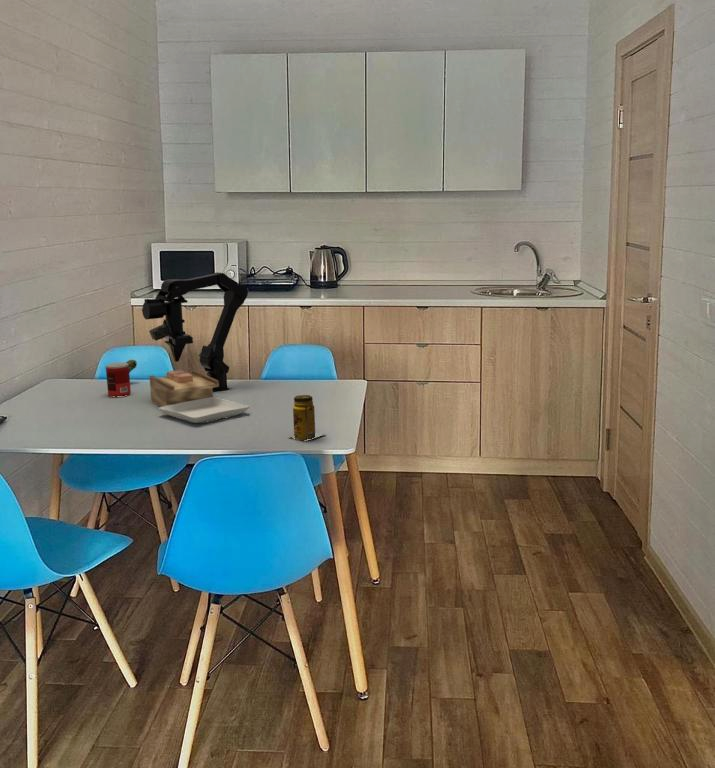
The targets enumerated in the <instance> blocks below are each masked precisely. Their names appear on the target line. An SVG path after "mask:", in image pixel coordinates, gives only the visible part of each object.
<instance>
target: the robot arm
mask: <svg viewBox="0 0 715 768" xmlns="http://www.w3.org/2000/svg"><path fill="white" fill-rule="evenodd" d="M214 286H217V287H218V288H219V289H220V290H221V291H222V292H223V293H224V294H223V309H222V311H221V312H220V313H221V314H220V315H219V319H218V321H217V324H216V327H215V329H214V332H213V335H212V338H211V341H210V342H209V344H208V345H203V346H202V347H201V352H200V353H199V355H198V357H199V361H198V362H199V363H200V366H201V367H203V369H204V371H205V372H206V375H207V376H209V377H211V378H214V379H216V380H218V381H219V387H214V388H212V390H213V392H217V391H218V392H219V391H225V390H229V389H230V387H228V380H227V379H228V377H227V375H228V374H229V370H230V366H229V365H227V364H226V363H225V362H224V359H225V358H224V357H225V352H224V351H225V350H224V346H225V344H226V341H227V338H228V336H229V333H230V330H231V327H232V325H233V322H234V320H235V316H236V314H237V311H238V310H239V309H240V308H241V307H242V306H243V304H244V302H245V301H246V299H247V298H248V294H249V290H248V288H247V287H246V285H244V284H241V283H239V282H238V281H236V280H234V279H232V278H231V277H229V276H228V275H227V274H226V273H223V272H214V273H210V274H206V275H202V276H197V277H196V276H195V277H192V278H187V279H177V278H175V279H173V278H171V279H168V278H167V279H164V280H163V282H162V283H161V286H160V290H159V291H158V293H157V295H156V297H155V298H152V299H151V298H144V299H143V300H144V303H143V304H142V308H141V312H142V316H143V318H144V319H145V320H156V319H163V318H164V316H165V319H163V320H162V324H161V325H158V326H156V327H154V328H151V329H150V330H149V331H148V332H149V334H150V337H151V339H152V340H154V341H159V340H163V339H165V338H166V339H165V340H164V343H165V344H166V345H167V346H169V349H170V351H171V354H172V357H173V360H174V362H176V363H178V362H179V361H180V359H181V356H182V353H183V351H184V349H185V347H186V345H190V344H193V343H194V339H193V337H192V336H191V334H187V333H186V330H185V331H184V324H185V323H186V322H185V321H186V320H185V319H184V318H183V306H182V305H183V304H187V303H188V300H187V299H186V298H185V297H184V295H187V294H188V293H189V292H192V291H195V290H199V289H204V288H209V287H214Z"/></svg>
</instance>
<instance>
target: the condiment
mask: <svg viewBox="0 0 715 768" xmlns="http://www.w3.org/2000/svg"><path fill="white" fill-rule="evenodd" d="M293 401H294V402H293V407H292V414H293V436H295V437H294V438H295V439H298V440H297V441H299V440H307V439H312V438H314V437H315V433H316V420H315V419H316V418H315V417H316V416H315V414H316V413H315V412H316V410H315V406H314V399H313V396H312V395H309V394H301V395H300V394H298V395H295V396H294V397H293ZM324 436H325V434H323V436H322V437H324ZM295 439H294V440H295ZM304 442H306V441H304ZM306 443H307V442H306Z"/></svg>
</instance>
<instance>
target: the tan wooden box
mask: <svg viewBox="0 0 715 768" xmlns="http://www.w3.org/2000/svg"><path fill="white" fill-rule="evenodd" d="M189 374H191V375H193V381H191V382H184V383H177V382H175V381H173V380H171V379H169V378H167V376H161V377H156V376H154V375H149V387H150V388H149V389H150V399H151V400H150V401H152V402H151V403H153V402H154V403H155V405H156V404H157V405H156V406H158V405H159V406H160V407H163V406H168V405H173V404H177V403H182V402H187V401H192V400H198V399H203V398H208V397H214V396H213V395H214V393H213V392H214V391H213V390H212V388H214V387H219V381H218V380H216V379H214V378H211V377H209V376H207V374H204V373H202V372H199V371H198V370H196V369H193V370H191V373H189ZM154 403H153V404H154ZM159 406H158V407H159Z"/></svg>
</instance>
